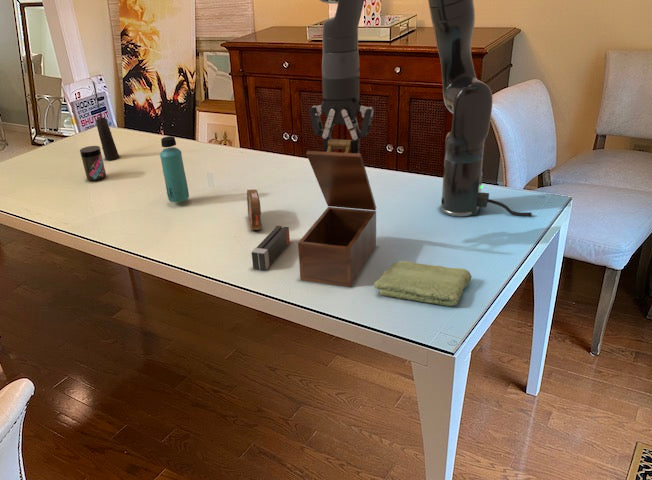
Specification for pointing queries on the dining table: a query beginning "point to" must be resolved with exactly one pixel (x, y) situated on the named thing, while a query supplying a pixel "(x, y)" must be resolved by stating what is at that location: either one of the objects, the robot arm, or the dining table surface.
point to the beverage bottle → (173, 171)
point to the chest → (337, 246)
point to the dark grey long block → (270, 248)
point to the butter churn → (105, 136)
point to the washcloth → (424, 283)
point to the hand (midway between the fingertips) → (341, 155)
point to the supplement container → (93, 163)
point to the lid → (342, 177)
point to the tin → (254, 209)
